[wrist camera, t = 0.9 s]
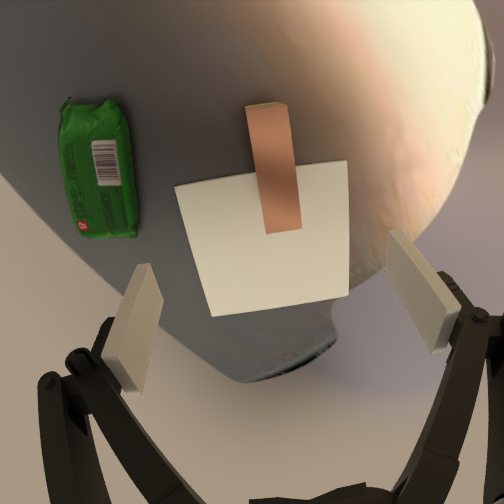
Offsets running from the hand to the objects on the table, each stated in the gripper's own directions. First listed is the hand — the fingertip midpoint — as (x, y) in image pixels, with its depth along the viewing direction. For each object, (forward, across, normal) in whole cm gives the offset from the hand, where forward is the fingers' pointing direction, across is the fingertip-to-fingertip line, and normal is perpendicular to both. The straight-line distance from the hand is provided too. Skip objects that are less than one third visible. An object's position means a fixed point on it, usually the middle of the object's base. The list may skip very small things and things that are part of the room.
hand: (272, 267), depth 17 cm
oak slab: (+17, +1, +2) cm, 17 cm away
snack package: (+18, -15, +3) cm, 24 cm away
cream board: (+18, +1, -9) cm, 20 cm away
